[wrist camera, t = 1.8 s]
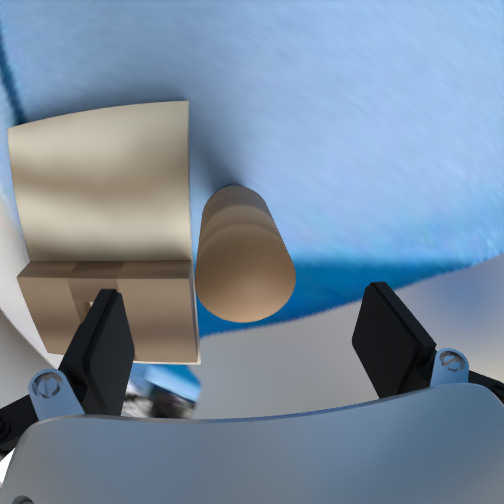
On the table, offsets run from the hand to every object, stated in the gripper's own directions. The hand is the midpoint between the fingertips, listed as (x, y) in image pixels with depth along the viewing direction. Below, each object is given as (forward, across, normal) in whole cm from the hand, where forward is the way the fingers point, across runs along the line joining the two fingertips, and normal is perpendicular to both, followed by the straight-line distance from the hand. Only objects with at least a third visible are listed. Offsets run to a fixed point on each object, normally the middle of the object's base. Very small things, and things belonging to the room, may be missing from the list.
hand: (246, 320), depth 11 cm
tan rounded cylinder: (+12, 0, -1) cm, 12 cm away
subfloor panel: (+12, +10, +3) cm, 16 cm away
